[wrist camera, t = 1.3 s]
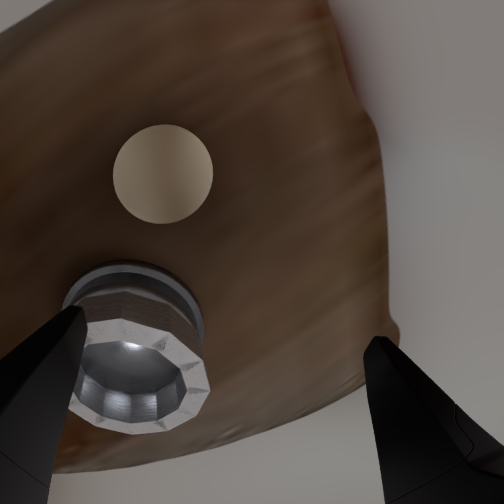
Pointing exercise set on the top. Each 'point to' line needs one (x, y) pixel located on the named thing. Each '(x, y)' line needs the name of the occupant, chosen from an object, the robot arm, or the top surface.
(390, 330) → the top surface
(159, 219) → the lid
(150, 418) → the canister
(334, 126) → the top surface
